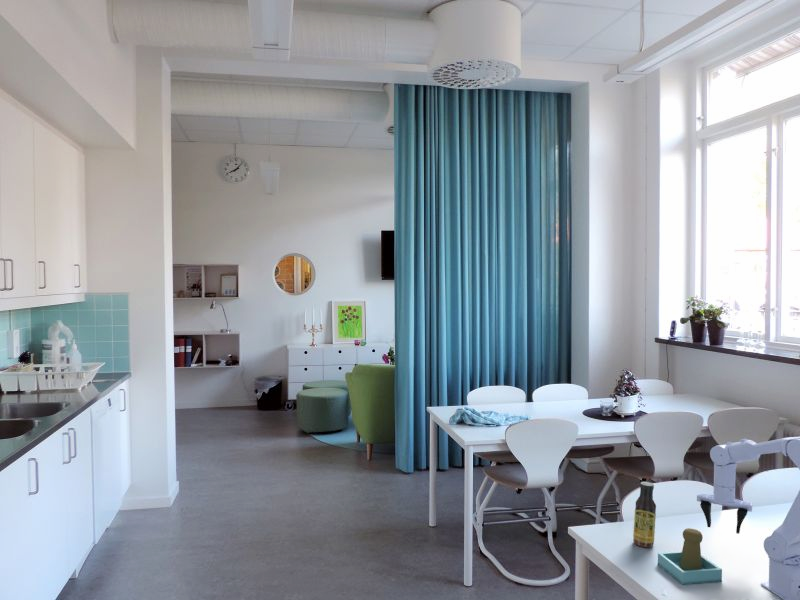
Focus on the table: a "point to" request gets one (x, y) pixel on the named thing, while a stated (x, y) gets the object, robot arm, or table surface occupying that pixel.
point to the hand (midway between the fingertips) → (723, 529)
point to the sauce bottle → (645, 516)
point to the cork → (691, 550)
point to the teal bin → (706, 575)
